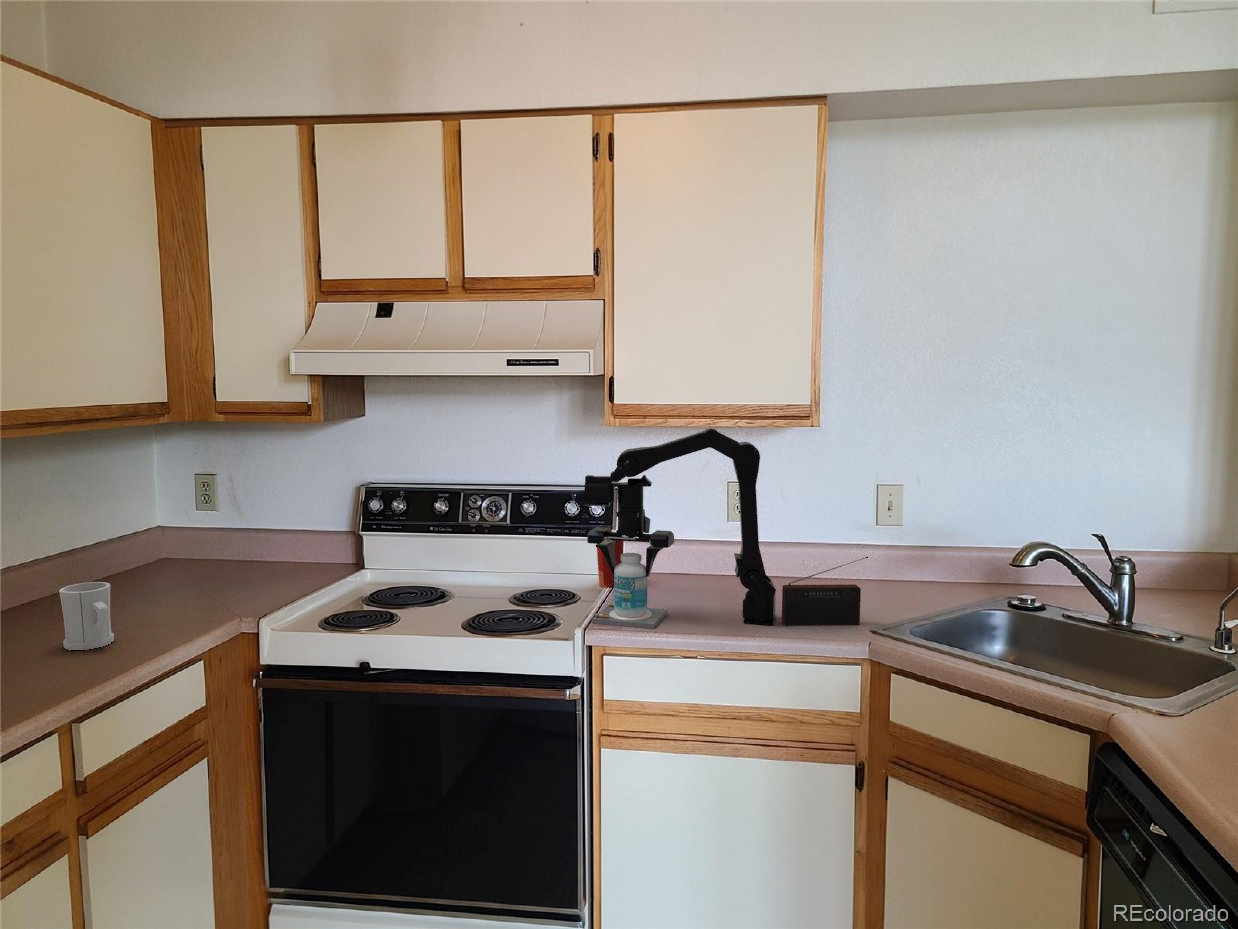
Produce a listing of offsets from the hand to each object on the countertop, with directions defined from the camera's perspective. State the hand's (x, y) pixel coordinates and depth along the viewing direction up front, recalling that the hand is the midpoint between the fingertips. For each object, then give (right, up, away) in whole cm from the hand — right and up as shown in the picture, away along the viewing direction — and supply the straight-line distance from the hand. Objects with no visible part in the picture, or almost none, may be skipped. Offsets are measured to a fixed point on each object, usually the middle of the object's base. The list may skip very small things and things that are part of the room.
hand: (630, 575), depth 192 cm
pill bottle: (0, -9, +1) cm, 9 cm away
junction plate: (0, -10, +1) cm, 10 cm away
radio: (+43, -11, -3) cm, 44 cm away
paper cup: (-5, -7, +31) cm, 32 cm away
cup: (-110, -12, -17) cm, 112 cm away
